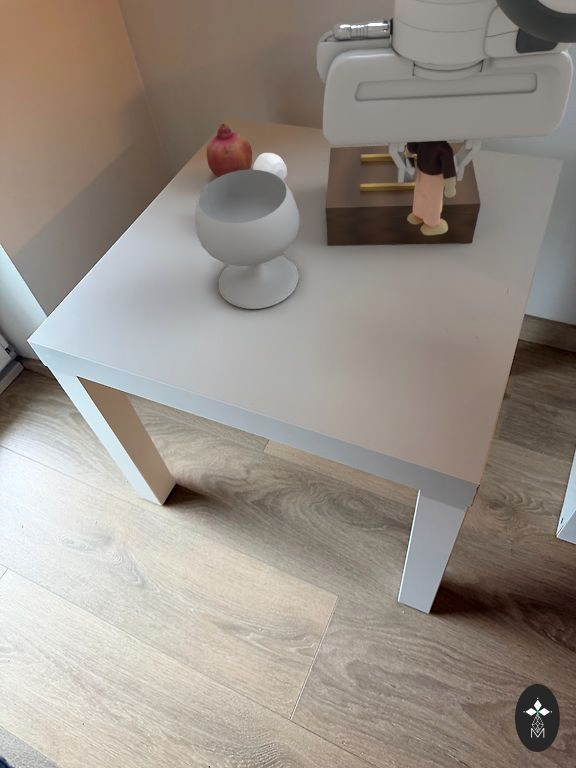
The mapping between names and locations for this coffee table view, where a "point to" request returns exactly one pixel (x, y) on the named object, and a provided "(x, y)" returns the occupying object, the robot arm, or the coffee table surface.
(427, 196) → the grandmother figurine
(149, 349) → the coffee table surface
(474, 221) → the box with brass rails
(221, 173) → the fruit
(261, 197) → the chalice
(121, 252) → the coffee table surface
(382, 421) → the coffee table surface
